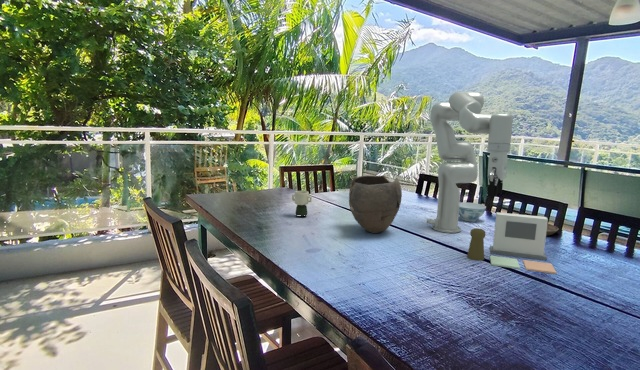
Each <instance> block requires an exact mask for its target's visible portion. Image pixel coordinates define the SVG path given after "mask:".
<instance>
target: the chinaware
mask: <svg viewBox="0 0 640 370" xmlns="http://www.w3.org/2000/svg"><path fill="white" fill-rule="evenodd" d="M486 209H487V206H486V205H484V204H481V203H477V202H466V201H465V202H464V201H463V202H462V201H460V204H459V217H460V218H461V220H462V221H464V222H465V221H466V222H476V221H477V219H479V218H481V217H482V216H483V215H484V213H485V211H486Z"/></svg>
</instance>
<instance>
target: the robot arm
mask: <svg viewBox="0 0 640 370" xmlns="http://www.w3.org/2000/svg"><path fill="white" fill-rule="evenodd" d="M484 104H485V98H484V96H483V94H482V93H481V92H477V91H464V90H461V91H455V92H453V93H452V94H451V95H450V96H449V98H448V101H441V102H436V103H435V104H433V105H432V107H431V109H430V115H429V117H430V118H429V119H430V123H431V126H432V129H433V131H434V134H435V140H436V147H437V153H438V157H439V158H440V160H441V161H447V162H444V163H441V164H440V165H439V166H438V168H437V179H438V194H437V195H438V196H437V208H436V209H437V210H436V217H435V218H434V219H431V218H426V223H427V224H431V225H432V229H433V230H434V231H436V232H440V233H448V234H454V233H455V234H457V233H460V232H461V231H462V228H461V227H460V226H458V225H459V217H460V215H459V204H460V202H461V191H460V189H459V187H458V185H457V184H471V183H474V182H476V180H477V179H478V174H479V172H478V171H479V170H478V165H477V158H476V153H475V148H474V146H473V144H472V143H471V142H470V141H468V140H457V139H456V134H455V129H454V128H453V127H452V126H451V125H450V123H448V121H454V122H455V121H457V122H459V125H460V127H461V128H463V130H464V131H466V132H467V133H469V134H475V135H477V134H478V135H479V134H480V135H483V134H485V135H488V138H487V139H488V140H487V153H489V158H488V159H489V160H488V165H487V166H488V168H487V179H488V183H487V190H486V191H487V192H486V195H487V196H488V197H494V198H495V197H497V195H498V194H502V193H503V187H504V186H503V185H504V183H503V181H504V180H505V179H506V178H507V170H508V154H510V153H511V152H510V151H511V144H512V142H511V141H512V133H513V132H512V131H513V121H514V120H513V119H514V118H513V115H512V114H510V113H509V114H508V113H482V108H483V107H484Z"/></svg>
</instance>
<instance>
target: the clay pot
mask: <svg viewBox="0 0 640 370" xmlns="http://www.w3.org/2000/svg"><path fill="white" fill-rule="evenodd" d="M402 193H403V192H402V186H401V182H400V180H399V179H398V177H396V178H395V179H394V180H393V181H390V180H389V179H388V178H387V177H386V176H385V175H360V176H355V177H354V178H353V179H352V181H351V183H350V186H349V192H348V205H349V209H350V210H349V211H350V212H351V214H352V216H353V218H354V220H355V221H356V223H358V225H359V226H360V227H361V228H362V229H364V230H365V231H366V232H368V233H373V234H378V233H382V232H384V231H386V230H387V229H388V228H389V227H390V226H391V225H392V223H393V222H394V220H395V218H396V216H397V215H398V212H399V209H400V207H401V202H402V195H403V194H402Z"/></svg>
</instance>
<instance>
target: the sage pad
mask: <svg viewBox="0 0 640 370" xmlns="http://www.w3.org/2000/svg"><path fill="white" fill-rule="evenodd" d="M489 260H490V265H491V266H495V267H503V268H508V269H515V270H516V269H517V270H520V269H521V266H520V264H519V261H518V259H517V258H511V257H503V256H496V255H489Z"/></svg>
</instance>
